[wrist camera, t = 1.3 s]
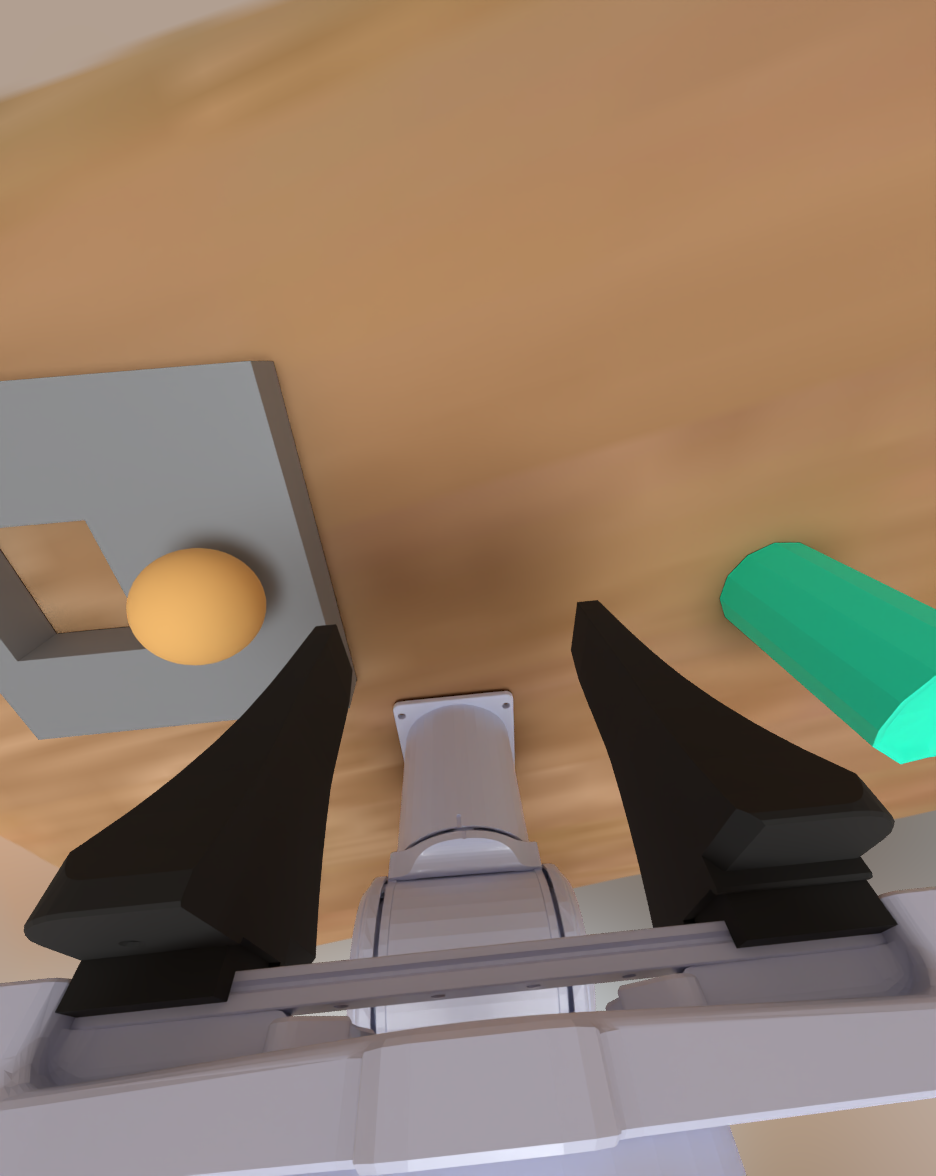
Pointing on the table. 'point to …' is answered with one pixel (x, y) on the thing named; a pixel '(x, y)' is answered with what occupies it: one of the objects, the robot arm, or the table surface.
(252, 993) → the robot arm
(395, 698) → the table surface
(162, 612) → the ball
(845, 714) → the candle
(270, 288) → the table surface
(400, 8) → the table surface
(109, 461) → the plate
